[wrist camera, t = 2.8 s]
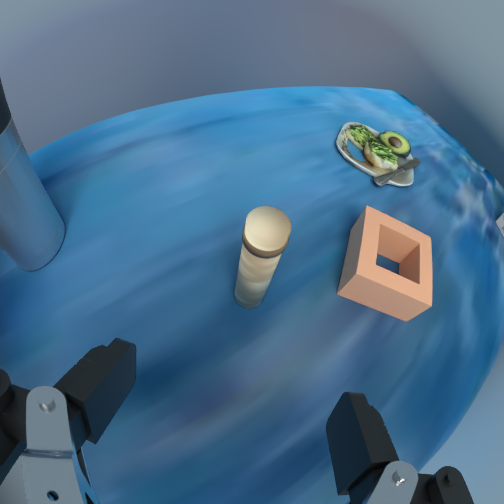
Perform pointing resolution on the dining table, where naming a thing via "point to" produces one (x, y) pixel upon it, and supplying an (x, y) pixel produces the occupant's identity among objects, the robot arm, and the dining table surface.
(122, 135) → the dining table surface
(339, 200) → the dining table surface
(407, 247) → the orange square ring
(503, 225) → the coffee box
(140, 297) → the dining table surface
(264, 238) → the birch peg
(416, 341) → the dining table surface
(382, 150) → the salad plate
